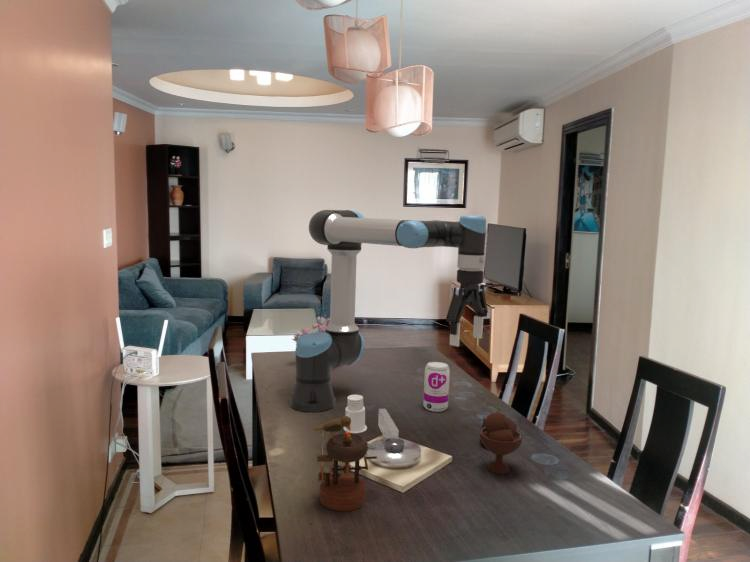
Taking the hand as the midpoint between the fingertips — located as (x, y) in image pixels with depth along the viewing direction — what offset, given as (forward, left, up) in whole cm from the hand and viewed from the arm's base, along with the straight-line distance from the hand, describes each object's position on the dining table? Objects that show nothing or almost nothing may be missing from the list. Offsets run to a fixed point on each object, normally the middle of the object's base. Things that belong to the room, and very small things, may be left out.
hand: (466, 341), depth 162 cm
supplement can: (-17, +13, -28) cm, 35 cm away
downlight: (-25, -19, -28) cm, 42 cm away
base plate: (-3, -29, -28) cm, 41 cm away
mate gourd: (+11, -1, -28) cm, 30 cm away
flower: (-78, +19, -28) cm, 85 cm away
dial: (-7, -26, -26) cm, 38 cm away
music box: (0, -51, -28) cm, 58 cm away
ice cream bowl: (+19, -13, -28) cm, 36 cm away
